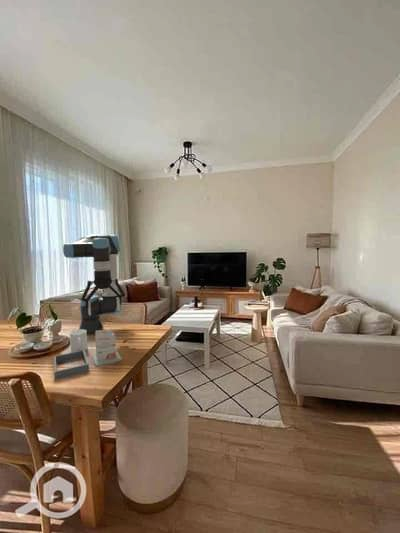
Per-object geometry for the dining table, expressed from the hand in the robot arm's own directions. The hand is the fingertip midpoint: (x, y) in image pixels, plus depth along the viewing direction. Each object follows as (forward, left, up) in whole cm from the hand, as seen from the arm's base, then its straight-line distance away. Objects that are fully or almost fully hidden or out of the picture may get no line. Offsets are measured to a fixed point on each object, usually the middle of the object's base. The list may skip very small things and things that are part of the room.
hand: (104, 312), depth 124 cm
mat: (0, 0, -24) cm, 24 cm away
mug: (-18, -11, -24) cm, 32 cm away
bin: (0, -16, -24) cm, 29 cm away
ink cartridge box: (0, 0, -23) cm, 23 cm away
